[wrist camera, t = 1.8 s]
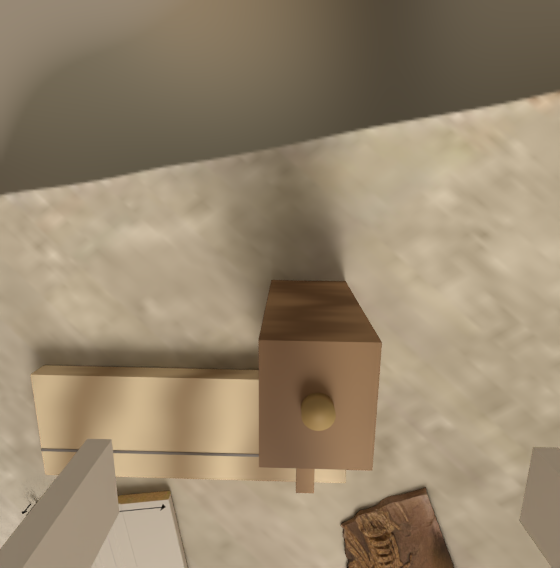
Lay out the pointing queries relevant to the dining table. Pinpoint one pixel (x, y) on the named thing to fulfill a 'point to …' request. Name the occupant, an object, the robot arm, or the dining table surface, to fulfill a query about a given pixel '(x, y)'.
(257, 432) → the board
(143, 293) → the dining table surface
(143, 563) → the baseboard molding
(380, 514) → the wooden fragment
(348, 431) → the block
